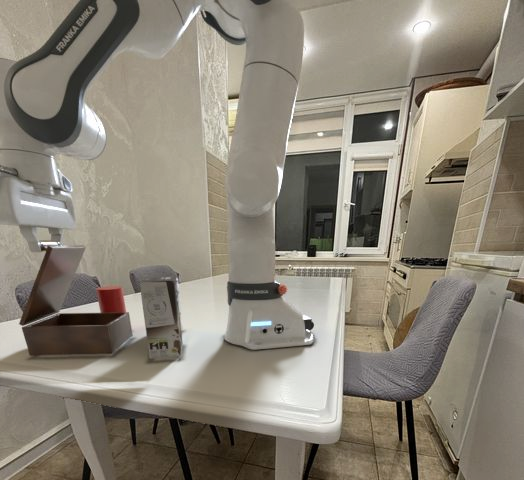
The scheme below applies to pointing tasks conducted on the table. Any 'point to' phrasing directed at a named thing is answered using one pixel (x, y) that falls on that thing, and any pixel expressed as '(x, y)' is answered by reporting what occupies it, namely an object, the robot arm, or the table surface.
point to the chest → (78, 333)
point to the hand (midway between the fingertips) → (47, 251)
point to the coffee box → (162, 316)
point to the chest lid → (52, 281)
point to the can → (111, 299)
